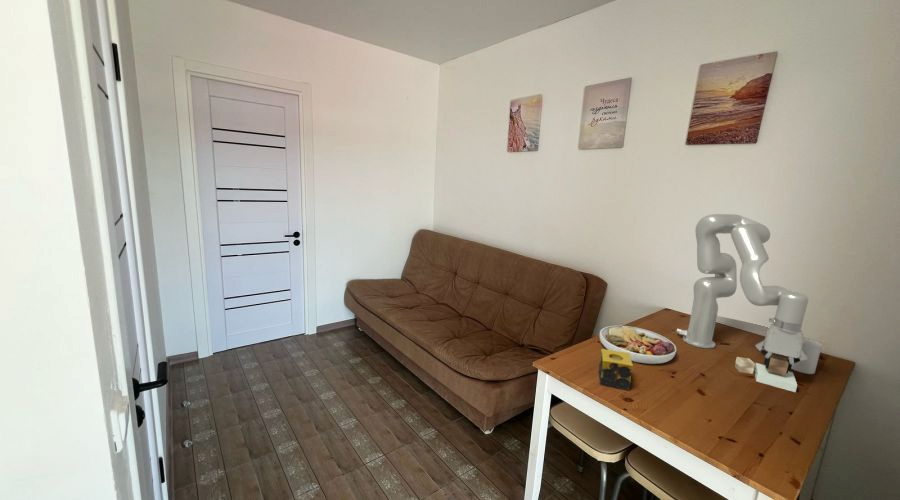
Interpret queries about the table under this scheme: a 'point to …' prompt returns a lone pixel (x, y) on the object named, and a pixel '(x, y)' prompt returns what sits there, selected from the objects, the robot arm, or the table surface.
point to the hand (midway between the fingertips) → (776, 369)
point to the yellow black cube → (615, 369)
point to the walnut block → (778, 365)
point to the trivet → (775, 378)
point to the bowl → (638, 344)
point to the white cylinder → (808, 357)
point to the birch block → (744, 365)
